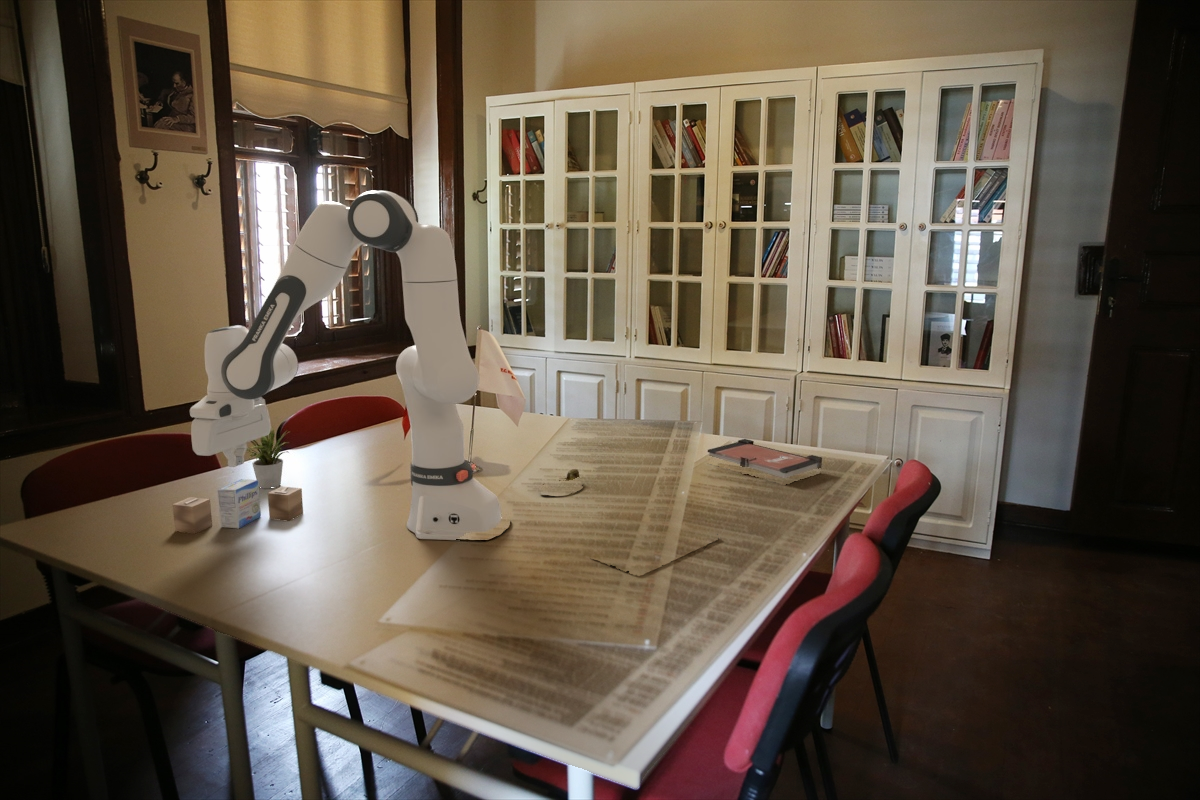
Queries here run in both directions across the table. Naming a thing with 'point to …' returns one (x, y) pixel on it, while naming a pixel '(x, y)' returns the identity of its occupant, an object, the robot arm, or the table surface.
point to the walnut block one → (192, 515)
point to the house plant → (267, 461)
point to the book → (766, 458)
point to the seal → (572, 475)
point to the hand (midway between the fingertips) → (236, 465)
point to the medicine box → (239, 503)
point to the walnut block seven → (285, 503)
